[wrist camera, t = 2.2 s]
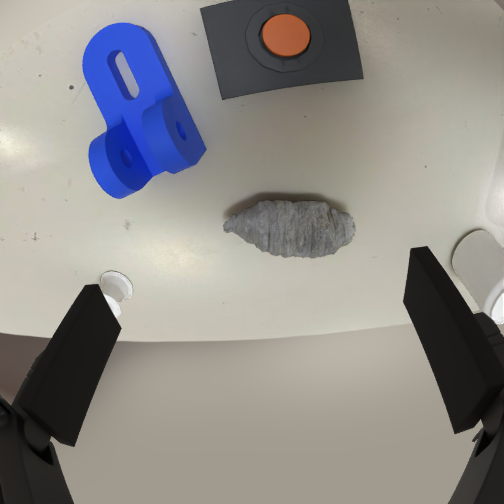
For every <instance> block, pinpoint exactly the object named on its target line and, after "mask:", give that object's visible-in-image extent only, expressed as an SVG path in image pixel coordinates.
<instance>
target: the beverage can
mask: <svg viewBox="0 0 504 504" xmlns="http://www.w3.org/2000/svg"><path fill="white" fill-rule="evenodd" d="M452 265H453V269H454V271H455V273H456V274H457V276H458V277H459V278H460V280H461V281H462V283H463V284H464V286H465V287H466V288H467V290H468V291H469V293H470V294H471V296H472V297H473V299H474V300H475V302H476V303H477V305H478V306H479V308H480V309H481V311H482V312H484V313H485V314H486V315H488V316H489V317H490V318H491V319H493V320H494V322H495V323H496V324H504V248H503V247H502V246H501V245H500V244H499V243H498V242H497V241H496V240H495V239H494V238H493V237H492V236H491V235H490V234H489V233H488V232H486V231H482V230H479V231H475V232H472V233H470V234H469V235H467V236H466V237H465V238H464V239H463V240H462V241H461V242H460V243H459V245H458V246H457V248H456V250H455V252H454V255H453V260H452Z"/></svg>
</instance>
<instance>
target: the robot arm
mask: <svg viewBox="0 0 504 504" xmlns="http://www.w3.org/2000/svg"><path fill="white" fill-rule="evenodd" d="M403 303H404V305H405V307H406V309H407V311H408V314H409V316H410V318H411V320H412V322H413V324H414V327H415V329H416V332H417V334H418V336H419V339H420V341H421V343H422V346H423V348H424V351H425V353H426V355H427V358H428V360H429V363H430V365H431V368H432V371H433V373H434V376H435V378H436V381H437V384H438V386H439V389H440V392H441V395H442V398H443V400H444V403H445V406H446V409H447V412H448V415H449V418H450V421H451V424H452V427H453V430H454V434H457V433H460V432H463V431H466V430H468V429H471V428H474V427H475V425H476V424H477V423H478V422H479V420H480V419H481V421H482V423H483V428H482V429H481V430H480V431H479V432H478V433H477V434H476V436H475V437H474V439H473V440H472V441H473V442H475V441H476V440H477V439H478V440H477V442H476V445H475V447H474V450H473V452H472V455H471V457H470V459H469V462H468V464H467V466H466V468H465V471H464V473H463V475H462V477H461V479H460V481H459V483H458V485H457V487H456V489H455V491H454V493H453V495H452V497H451V499H450V501H449V503H448V504H504V337H503V335H502V334H501V333H500V330H499V328H498V327H497V325H496V323H495V322H494V320H493V319H491V318H490V317H489V316H488V315H486V314H485V313H484V312H481V313H476V314H473V313H472V311H471V310H470V308H469V306H468V305H467V303H466V302H465V300H464V299H463V297H462V295H461V294H460V292H459V291H458V289H457V288H456V286H455V285H454V283H453V282H452V280H451V279H450V277H449V276H448V274H447V273H446V271H445V270H444V269H443V267H442V266H441V264H440V263H439V262H438V260H437V259H436V257H435V256H434V255H433V253H432V252H431V250H430V249H429V248H428V246H425V247H417V248H411V250H410V258H409V266H408V273H407V280H406V287H405V293H404V299H403ZM121 329H122V328H121V326H120V325H119V323H118V321H117V319H116V317H115V316H114V314H113V312H112V310H111V308H110V306H109V304H108V302H107V300H106V299H105V297H104V295H103V293H102V291H101V289H100V287H99V285H98V284H91V285H85V286H84V288H83V289H82V291H81V292H80V294H79V295H78V297H77V298H76V300H75V301H74V303H73V304H72V306H71V308H70V309H69V311H68V312H67V314H66V315H65V317H64V319H63V320H62V322H61V324H60V325H59V327H58V328H57V330H56V332H55V333H54V335H53V337H52V338H51V340H50V342H49V344H48V345H47V347H46V349H45V350H44V351H43V352H42V353H41V354H40V355H39V356H38V357H37V358H36V359H35V361H34V363H33V365H32V367H31V370H29V372H28V374H27V378H25V380H24V381H23V383H22V385H21V387H20V390H19V391H18V393H17V395H16V397H15V399H14V401H13V403H12V405H10V404H9V403H8V402H6V400H5V399H4V398H3V397H2V396H1V395H0V504H74V502H73V500H72V497H71V495H70V492H69V489H68V487H67V484H66V482H65V479H64V476H63V473H62V470H61V467H60V464H59V461H58V458H57V455H56V451H55V448H54V445H53V443H52V442H50V438H51V436H52V437H54V438H55V439H56V440H57V441H58V442H60V443H62V444H65V445H69V446H73V447H74V446H75V443H76V441H77V438H78V435H79V432H80V430H81V427H82V424H83V421H84V419H85V416H86V413H87V410H88V408H89V405H90V403H91V400H92V398H93V395H94V392H95V390H96V387H97V385H98V382H99V380H100V377H101V375H102V373H103V370H104V368H105V365H106V363H107V361H108V358H109V356H110V354H111V351H112V349H113V347H114V345H115V342H116V340H117V338H118V336H119V333H120V331H121Z"/></svg>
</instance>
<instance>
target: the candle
mask: <svg viewBox="0 0 504 504" xmlns="http://www.w3.org/2000/svg"><path fill="white" fill-rule="evenodd" d="M101 286H102V292H103V295H104V297H105V299H106V300H107V302H108V304H109V306H110V308H111V310H112V312H113V314H114V316H115V317H116V318H117V317H119V315H120V313H121V310H120V306H119V304H118V303H117V302H121V301H123V300H126V299H128V298H130V297H131V295H132V293H133V287H132V284H131V283H130V281H129V280H128V279H127V278H126V277H125V276H124V275H122V274H120V273H118V272H114V271H109V272H106V273H104V274H103V275H102V277H101Z"/></svg>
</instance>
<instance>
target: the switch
mask: <svg viewBox="0 0 504 504" xmlns="http://www.w3.org/2000/svg"><path fill="white" fill-rule="evenodd" d="M262 38H263V42H264V45H265V46H266V48H267V49H268V50H269V51H270V52H272V53H273V54H275V55H278V56H281V57H290V56H294V55H296V54H298V53H300V52H302V51H303V50H304V49H305V48H306V47H307V45H308V43H309V39H310V33H309V29H308V27H307V25H306V24H305V23H304V22H303V21H302V20H301V19H300V18H298V17H296V16H294V15H290V14H280V15H276V16H274V17H272V18H271V19H269V20H268V21H267V22H266V24H265V25H264V28H263V32H262Z"/></svg>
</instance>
